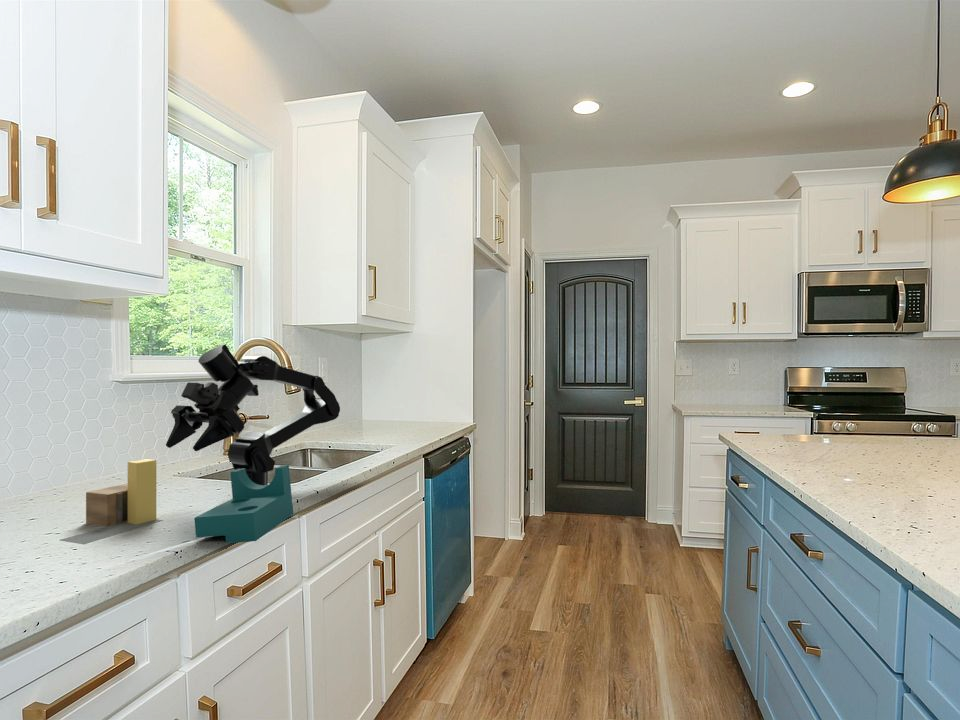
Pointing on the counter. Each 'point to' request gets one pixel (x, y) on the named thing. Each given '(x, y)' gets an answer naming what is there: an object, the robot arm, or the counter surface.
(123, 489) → the brown box
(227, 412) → the robot arm
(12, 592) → the counter surface
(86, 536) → the mat
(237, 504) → the teal l-shaped bracket
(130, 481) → the yellow block
